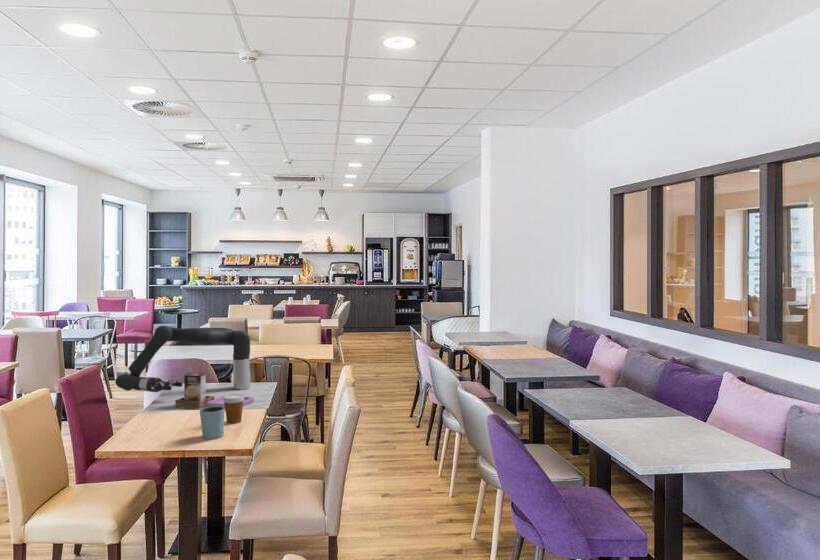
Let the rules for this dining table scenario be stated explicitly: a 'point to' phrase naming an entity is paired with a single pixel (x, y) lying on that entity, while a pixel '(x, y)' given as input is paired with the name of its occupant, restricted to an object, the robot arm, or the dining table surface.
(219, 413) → the teal cup
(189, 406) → the holder
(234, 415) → the disposable coffee cup
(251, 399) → the tray
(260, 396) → the dining table surface
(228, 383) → the dining table surface
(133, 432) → the dining table surface
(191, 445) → the dining table surface
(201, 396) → the coffee box
